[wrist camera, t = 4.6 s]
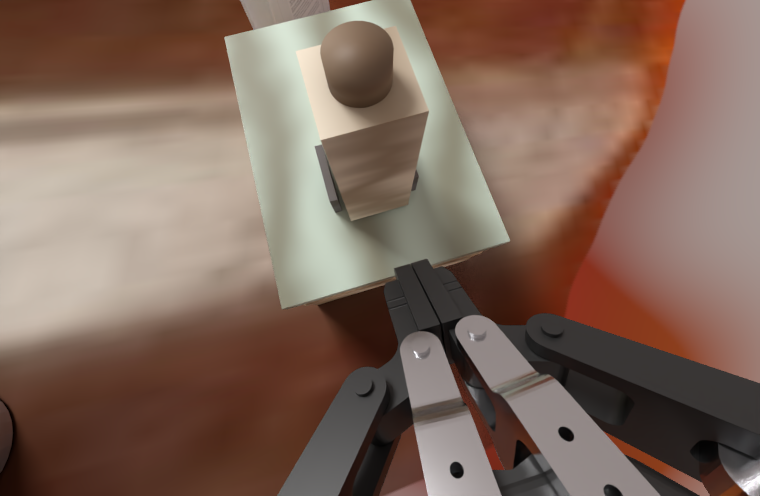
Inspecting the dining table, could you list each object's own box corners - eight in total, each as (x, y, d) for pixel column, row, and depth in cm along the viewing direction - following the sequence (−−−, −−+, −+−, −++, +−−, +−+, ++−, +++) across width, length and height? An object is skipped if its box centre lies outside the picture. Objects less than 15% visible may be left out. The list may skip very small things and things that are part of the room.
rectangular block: (314, 309, 26) (269, 309, 15) (267, 111, 31) (209, 10, 20) (470, 262, 26) (525, 232, 16) (400, 76, 31) (408, -38, 21)
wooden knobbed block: (351, 221, 18) (311, 116, 8) (336, 169, 19) (284, 18, 9) (407, 204, 18) (435, 83, 9) (390, 154, 19) (397, -10, 9)
